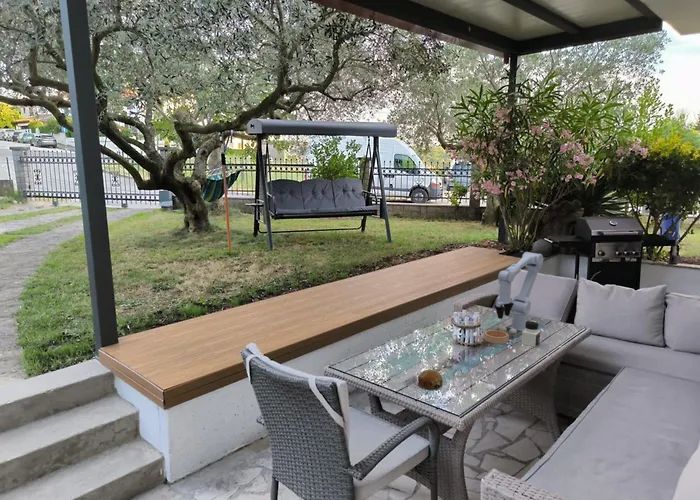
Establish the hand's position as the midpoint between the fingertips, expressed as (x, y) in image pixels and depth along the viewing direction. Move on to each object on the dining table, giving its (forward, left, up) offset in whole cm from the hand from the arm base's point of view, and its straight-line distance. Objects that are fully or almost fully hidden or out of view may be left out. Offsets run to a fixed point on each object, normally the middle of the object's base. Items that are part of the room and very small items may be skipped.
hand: (503, 317), depth 258 cm
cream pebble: (0, 0, -9) cm, 9 cm away
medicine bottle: (+5, +18, -10) cm, 21 cm away
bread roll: (+80, +11, -10) cm, 82 cm away
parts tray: (0, +3, -9) cm, 10 cm away
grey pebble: (0, +6, -9) cm, 11 cm away
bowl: (+12, +3, -9) cm, 16 cm away
